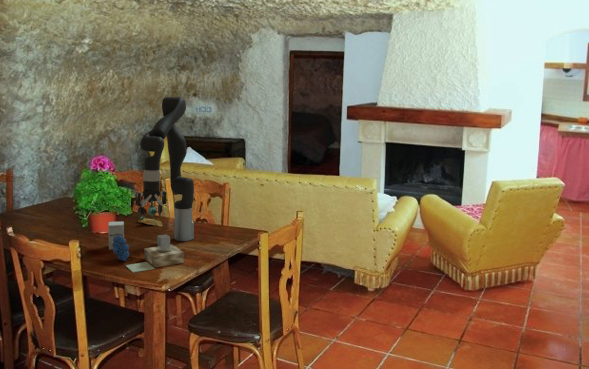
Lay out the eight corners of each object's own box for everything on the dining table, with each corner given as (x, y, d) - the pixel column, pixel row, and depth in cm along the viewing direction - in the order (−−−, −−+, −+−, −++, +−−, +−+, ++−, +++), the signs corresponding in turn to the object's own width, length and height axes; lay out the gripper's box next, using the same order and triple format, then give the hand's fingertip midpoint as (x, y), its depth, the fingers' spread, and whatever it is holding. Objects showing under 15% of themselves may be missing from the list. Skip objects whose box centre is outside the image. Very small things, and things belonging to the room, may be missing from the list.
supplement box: (108, 250, 289) (107, 225, 287) (109, 245, 296) (108, 221, 294) (124, 249, 291) (123, 224, 289) (124, 244, 298) (123, 220, 296)
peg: (166, 258, 280) (166, 234, 277) (170, 261, 276) (170, 236, 274) (157, 260, 277) (157, 235, 275) (161, 262, 274) (160, 238, 271)
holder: (172, 254, 286) (172, 244, 285) (183, 262, 275) (183, 252, 274) (144, 258, 278) (144, 248, 278) (155, 267, 267) (155, 256, 266)
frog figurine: (147, 219, 348) (148, 195, 344) (168, 228, 339) (170, 203, 335) (134, 222, 340) (135, 198, 337) (155, 231, 331) (157, 206, 327)
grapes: (105, 259, 276) (105, 234, 274) (118, 256, 281) (117, 231, 279) (120, 265, 269) (119, 239, 266) (132, 261, 274) (132, 237, 271)
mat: (146, 262, 273) (146, 261, 273) (154, 269, 265) (154, 268, 265) (125, 266, 268) (125, 265, 267) (133, 272, 259) (132, 271, 259)
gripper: (162, 177, 278) (161, 211, 280) (133, 179, 269) (133, 213, 272) (169, 180, 272) (168, 214, 274) (140, 181, 263) (139, 216, 266)
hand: (150, 214), depth 273 cm, fingers open, 8 cm apart
